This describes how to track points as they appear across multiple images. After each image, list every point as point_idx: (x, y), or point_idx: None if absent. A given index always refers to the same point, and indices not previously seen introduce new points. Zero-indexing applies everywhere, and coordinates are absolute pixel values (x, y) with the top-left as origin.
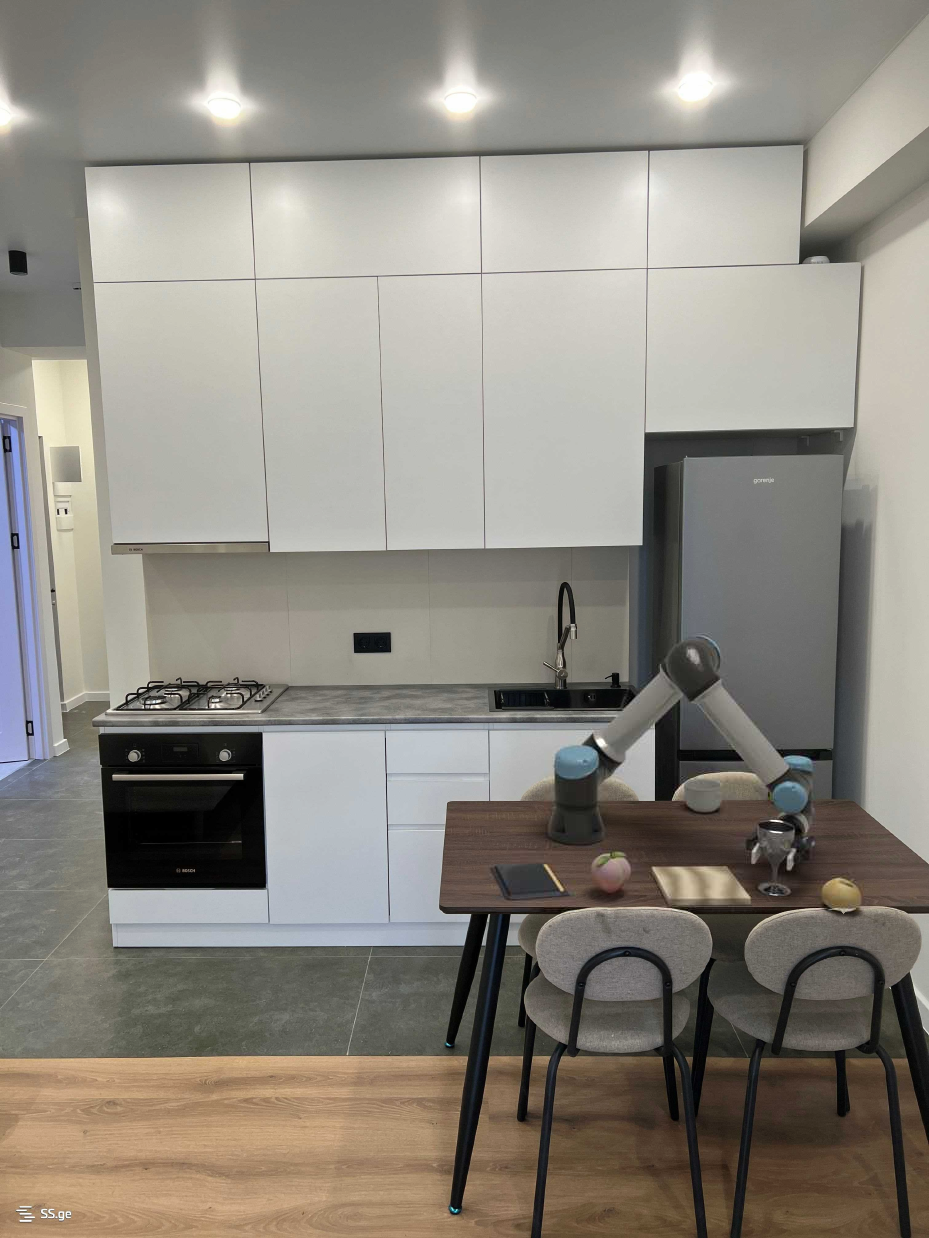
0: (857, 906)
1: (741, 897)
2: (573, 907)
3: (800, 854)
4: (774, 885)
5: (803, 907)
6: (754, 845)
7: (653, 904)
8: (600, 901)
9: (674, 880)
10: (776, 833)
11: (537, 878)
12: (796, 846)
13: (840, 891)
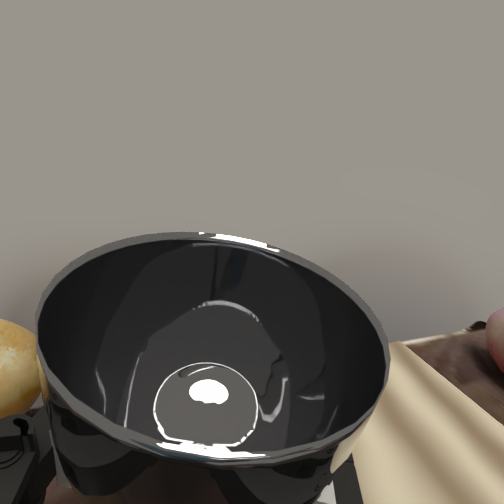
0: None
1: None
2: (480, 328)
3: (42, 409)
4: None
5: None
6: (345, 498)
7: (415, 350)
8: (480, 347)
9: (478, 436)
10: (227, 244)
11: None
12: (33, 435)
13: (5, 320)
